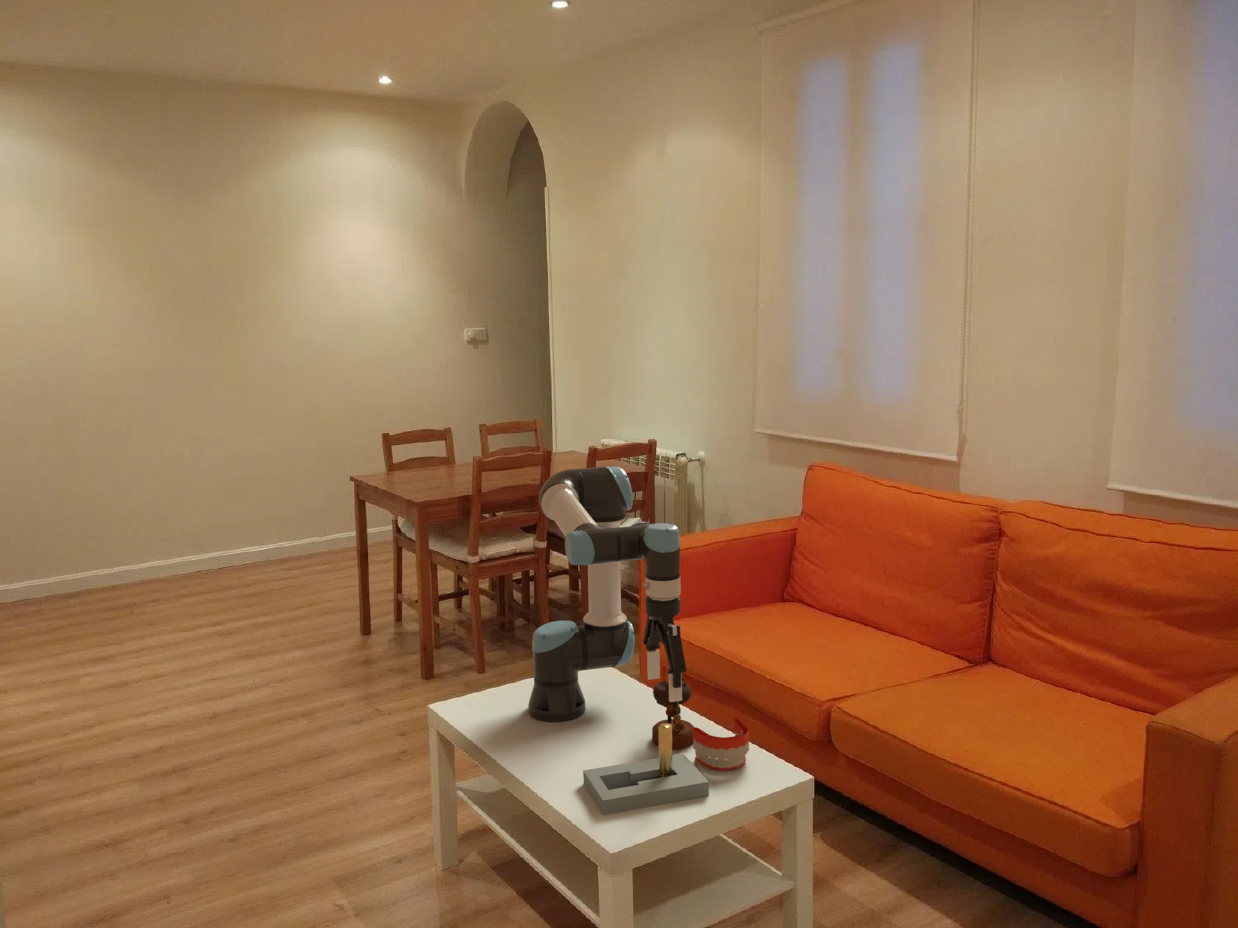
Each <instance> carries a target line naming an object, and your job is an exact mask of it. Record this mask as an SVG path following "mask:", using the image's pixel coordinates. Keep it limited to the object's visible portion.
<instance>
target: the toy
mask: <svg viewBox="0 0 1238 928" xmlns="http://www.w3.org/2000/svg"><path fill="white" fill-rule="evenodd" d="M733 723H734V729H733V730H734V734H735V735H733V736H728V737H727V736H725V737H723V736H715V735H711V734H710V733H708V732H706V731H704V730H702V729H701V728H698V727H695V726H694V727H693V728H692V730H693V740H694V742H693V745H692V749H693V750H694V753H695V757H694V760H695V761H696V762H697V763H699V765H701V766H703V767H704V768H707V769H710V770H715V771H732V770H736V769H739V768H740V767H743V766H744V764H745V763H746V761H747V757H746V755H747V754H748V752H749V751H750V732H749V728H748V727H747V725H746V724H744V722H742V721H741V720H740V719H738V718H733Z"/></svg>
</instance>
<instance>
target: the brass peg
mask: <svg viewBox="0 0 1238 928" xmlns="http://www.w3.org/2000/svg"><path fill="white" fill-rule="evenodd" d="M658 734H659V747H658V758H659V777H658V778H662V777H668V776H673V750H672V725H671V724H668V723H663V724H660V725H659V726H658Z"/></svg>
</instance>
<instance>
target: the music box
mask: <svg viewBox="0 0 1238 928" xmlns="http://www.w3.org/2000/svg"><path fill="white" fill-rule="evenodd" d="M668 667H669V666H668ZM669 669H670V667H669ZM683 673H684V672H683ZM683 673H682V701H675V702H670V701H669V679H666V680H661V681H659V682H657V683H656V684H655V686H654V687H653V690H652V695H653V697H654V699H655V701H656V704H658V705H660V706H662V707H664V708H666V709H665V714H666V716H667V719H663V720H660V721H658V722H656V723H655V724H654V725H653V726H652V729H651V732H652V733H651V734H652V743H653V745H654V746H655V747H657V748H659V734H658V726H659V725H660V724H663V723H668V724H671V725H672V751H676V750H684V749H687V748H690V747H693V742H694V740H693V730H692V728H693V727H695V726H694V725H693V724H692V723H691V722H689V721H687V720H684V719H682V716H681V711H682V709H681V707H680V705H682V704H685V703H687V702H688V701H689V700H690V699H691V696H692V689H691V687H690V685H689V684H688V683H687V682H686V681H685V677H684V674H683Z"/></svg>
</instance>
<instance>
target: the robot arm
mask: <svg viewBox="0 0 1238 928" xmlns="http://www.w3.org/2000/svg"><path fill="white" fill-rule="evenodd" d="M538 495H539V497H538V503H539V507H540V509H541V511H542V513H543V514H544V516H546V518H548V519H550V520H551V521H554V523H555V524H556V526H557V527H558V528H559V529H560V531H561V532H562V534H563V535H564V537H565V540H564V549H565V550H564V551H565V555H566V560H567V561H568V563H569V564H570V565H572V566H587V579H588V580H587V591H588V593H587V594H588V612H587V613H586V614H585V615H584V616H583V619H582V621H583V622H582V624H583V625H579V626H577V624H576V623H575V622H574V621H573V620H556V621H551V622H547V623H545V624H542V625H540V626H539V627H538V628H536V629H535V630H534V632H533V634H532V647H531V650H532V657H533V658H532V661H533V687H532V690H531V694H530V697H529V700H528V714H529V716H530V717H531V718H533V719H536V720H539V721H543V722H564V721H565V722H566V721H569V720H573V719H577V718H578V717H580V716H582V715H583V714H584V713H586V699H585V697H584V693H583V691H582V689H581V686H580V683H579V672H580V671H581V672H582V671H588V670H589V671H590V670H596V669H597V670H599V669H607V668H616V667H619V666H624V665H626V664H628V663H629V662H630V661H631V659H632V657H633V654H634V650H635V635H634V634H635V630H634V627H633V623H631V621H629V620H628V618H627V615H626V614H625V613H624V612H622V601H621V600H622V596H621V595H622V594H621V593H622V592H621V591H622V590H621V589H622V587H621V562H625V561H627V562H628V561H636V560H642V561H644V569H645V573H644V575H645V576H644V577H645V582H643V587H644V588H645V594H646V597H645V612H646V615H647V616H646V617H647V618H646V623H645V624H646V625H645V630H644V635H643V640H642V643H643V645H645V649H646V650H647V651H646V655H647V656H646V660H647V661H646V662H647V663H646V664H647V668H646V669H647V671H646V672H647V673H646V674H647V681H650V680H657V679H661V663H660V662H661V661H660V660H661V659H660V657H661V655H660V654H661V653H660V650H659V649H661V645H660V643H661V644H662V645H663V647H664V650H665V655H666V658H667V663H668V667H670V668H669V670H668V671H667V674H668V680H669V701H670V702H675V701H682V673H686V672H687V666H686V659H685V654H684V648H683V642H682V636H681V626H680V624H677V625H676V624H675V622H674V621H675V620H674V618H675V617H676V616H678V615H679V614H680V613H681V607H682V606H681V597H680V595H681V591H682V590H681V537H680V529H679V527H678V526H677V525H676V524H671V523H668V522H658V523H650V522H647V521H637V522H635V523H633V524H631V525H630V526H620V525H621V524H622V523H623V522H624V521H625V520H626V512H627V511H630V510H632V508H633V505H634V504H633V503H634V497H633V490H632V485H631V481H630V479H629V476H628V474H627V472H626V471H625V470H624V469H623V468H622V467H619V466H607V465H604V466H596V467H585V468H575V469H572V468H569V469H564V470H559V471H558V472H556V473H554V474H553V475H552V476H550V477H549V478H548V479H546V480H545V482H544V484H542V486H541V488H540V491H539V493H538Z"/></svg>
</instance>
